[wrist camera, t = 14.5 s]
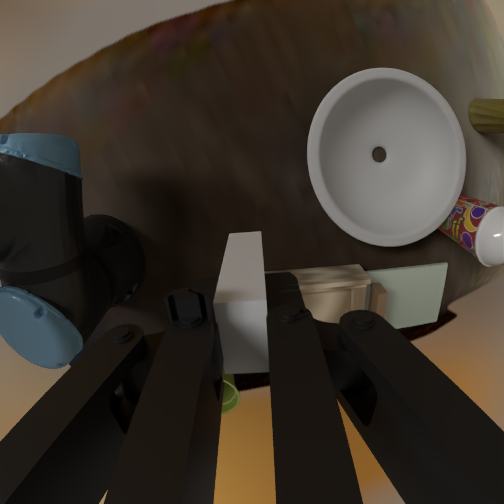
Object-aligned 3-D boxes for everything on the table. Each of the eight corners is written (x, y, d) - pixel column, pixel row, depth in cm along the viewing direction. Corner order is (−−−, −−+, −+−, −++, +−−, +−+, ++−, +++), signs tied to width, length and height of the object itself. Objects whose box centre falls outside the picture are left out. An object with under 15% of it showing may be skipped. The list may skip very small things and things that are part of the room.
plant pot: (185, 345, 53) (175, 378, 45) (237, 342, 52) (235, 376, 44) (196, 382, 56) (190, 415, 48) (244, 380, 56) (243, 413, 47)
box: (240, 346, 52) (239, 367, 47) (232, 273, 48) (229, 290, 42) (352, 336, 52) (361, 355, 47) (359, 264, 47) (370, 279, 42)
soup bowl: (457, 198, 43) (480, 208, 37) (336, 257, 47) (347, 274, 40) (410, 60, 35) (432, 51, 29) (270, 108, 39) (273, 103, 33)
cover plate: (354, 331, 52) (361, 347, 48) (359, 270, 48) (368, 283, 44) (433, 318, 52) (445, 331, 47) (444, 261, 47) (458, 271, 43)
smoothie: (418, 207, 44) (498, 251, 25) (451, 176, 42) (537, 206, 23) (439, 244, 46) (512, 299, 27) (469, 215, 44) (548, 256, 25)
